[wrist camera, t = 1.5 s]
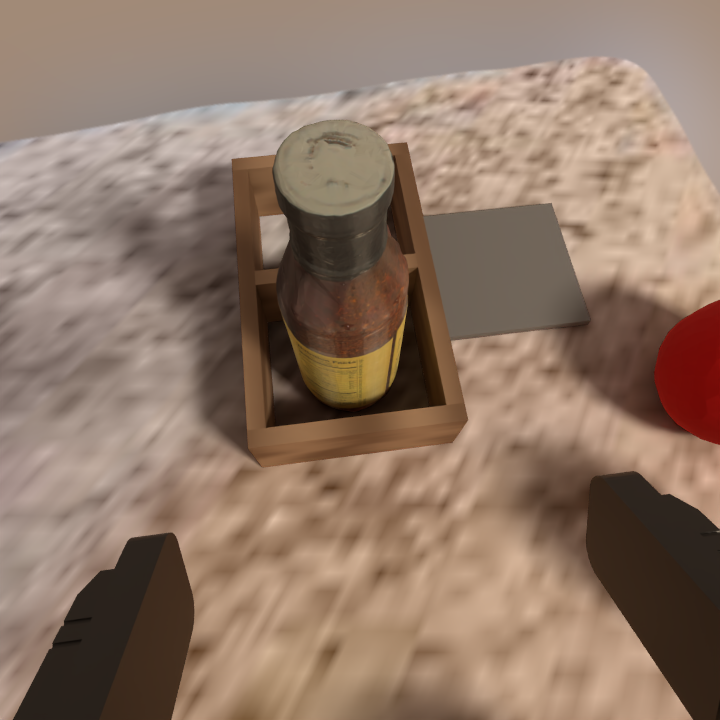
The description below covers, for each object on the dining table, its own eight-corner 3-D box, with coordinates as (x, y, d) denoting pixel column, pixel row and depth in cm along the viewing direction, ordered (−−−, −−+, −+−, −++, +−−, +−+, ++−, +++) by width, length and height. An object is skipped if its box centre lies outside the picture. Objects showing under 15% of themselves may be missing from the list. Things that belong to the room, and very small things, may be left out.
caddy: (262, 467, 33) (248, 448, 29) (245, 207, 41) (231, 159, 36) (452, 442, 34) (467, 420, 30) (400, 191, 42) (406, 142, 37)
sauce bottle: (344, 313, 38) (337, 54, 19) (414, 368, 36) (479, 142, 18) (279, 379, 36) (201, 160, 17) (350, 440, 34) (348, 271, 16)
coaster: (446, 341, 37) (447, 337, 36) (420, 221, 41) (421, 216, 40) (587, 324, 37) (590, 320, 37) (548, 208, 41) (551, 203, 41)
